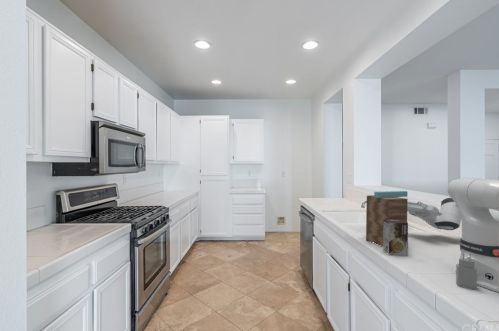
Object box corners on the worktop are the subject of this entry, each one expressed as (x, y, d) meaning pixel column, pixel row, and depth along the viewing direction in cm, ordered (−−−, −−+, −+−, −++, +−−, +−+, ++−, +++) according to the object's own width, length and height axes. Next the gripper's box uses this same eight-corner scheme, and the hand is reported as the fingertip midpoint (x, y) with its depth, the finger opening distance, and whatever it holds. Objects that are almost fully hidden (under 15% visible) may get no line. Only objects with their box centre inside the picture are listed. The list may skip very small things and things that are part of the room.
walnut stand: (406, 247, 131) (407, 198, 131) (389, 249, 127) (390, 199, 127) (382, 238, 146) (382, 195, 146) (365, 240, 142) (366, 195, 142)
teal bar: (407, 196, 139) (407, 191, 139) (378, 197, 133) (378, 192, 133) (402, 196, 142) (402, 190, 142) (374, 197, 136) (374, 191, 136)
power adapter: (455, 282, 92) (456, 250, 92) (474, 286, 89) (475, 253, 89) (457, 286, 89) (458, 253, 89) (477, 290, 86) (478, 256, 86)
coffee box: (401, 251, 124) (401, 219, 124) (408, 256, 118) (408, 222, 118) (382, 250, 125) (383, 219, 125) (388, 255, 119) (388, 222, 119)
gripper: (441, 220, 136) (426, 209, 132) (407, 213, 156) (393, 203, 152) (445, 210, 137) (430, 199, 133) (411, 204, 157) (397, 194, 153)
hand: (410, 201), depth 143 cm, fingers open, 8 cm apart
